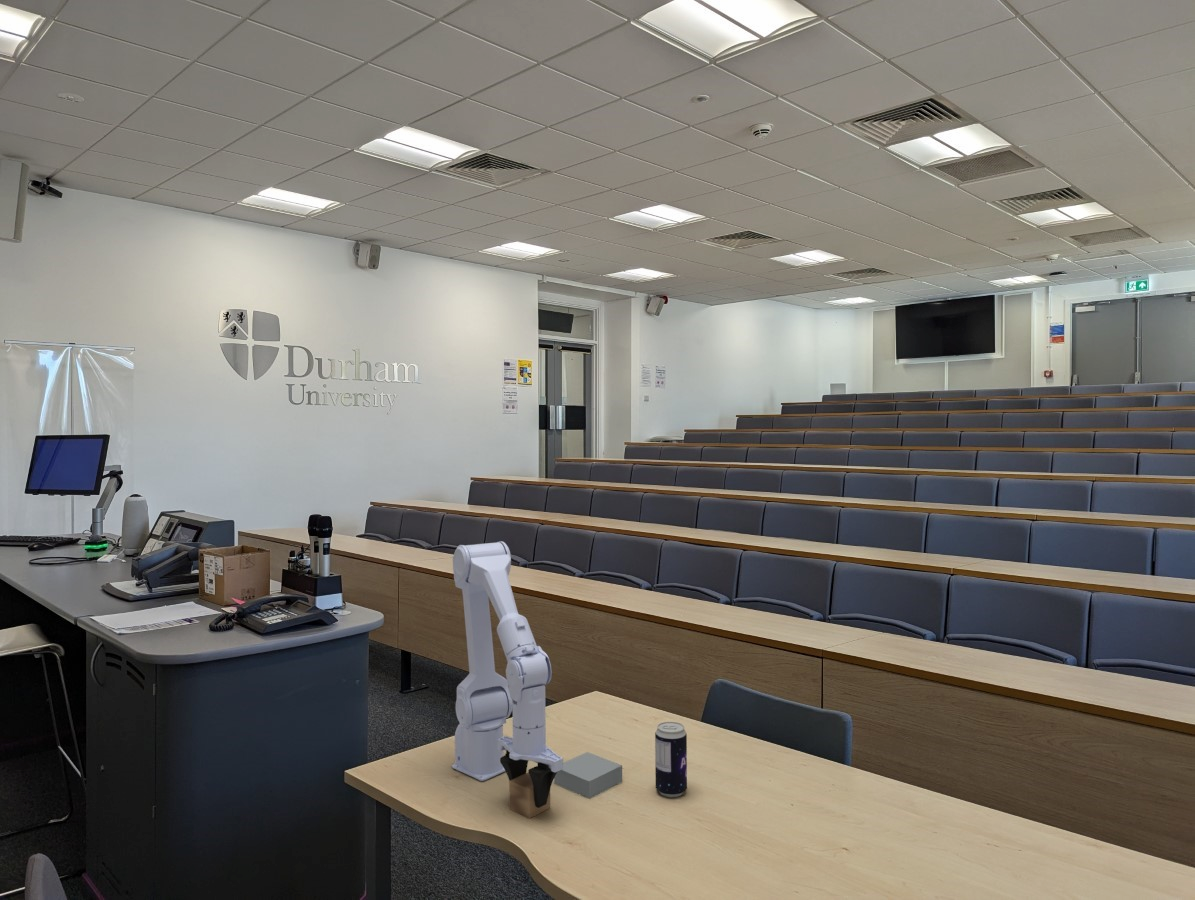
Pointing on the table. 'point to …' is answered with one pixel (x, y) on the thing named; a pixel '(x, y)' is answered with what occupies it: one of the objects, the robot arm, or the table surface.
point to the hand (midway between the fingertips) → (529, 800)
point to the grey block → (588, 775)
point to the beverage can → (671, 759)
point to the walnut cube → (524, 797)
